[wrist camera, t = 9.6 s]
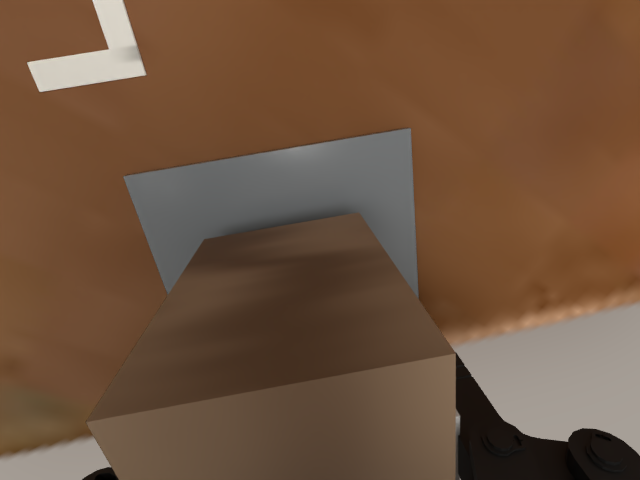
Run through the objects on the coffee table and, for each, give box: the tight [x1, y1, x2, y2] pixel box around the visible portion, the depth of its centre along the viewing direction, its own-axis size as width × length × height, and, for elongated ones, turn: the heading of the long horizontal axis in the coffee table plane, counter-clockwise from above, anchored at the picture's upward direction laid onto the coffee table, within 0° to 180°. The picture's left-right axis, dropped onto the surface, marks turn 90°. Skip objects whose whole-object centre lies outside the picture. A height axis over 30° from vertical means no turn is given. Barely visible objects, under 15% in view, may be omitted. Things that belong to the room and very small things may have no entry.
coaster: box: [123, 128, 419, 299], centre depth 17 cm, size 12×14×1 cm
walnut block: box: [86, 212, 456, 480], centre depth 11 cm, size 6×9×8 cm, turn 9°
